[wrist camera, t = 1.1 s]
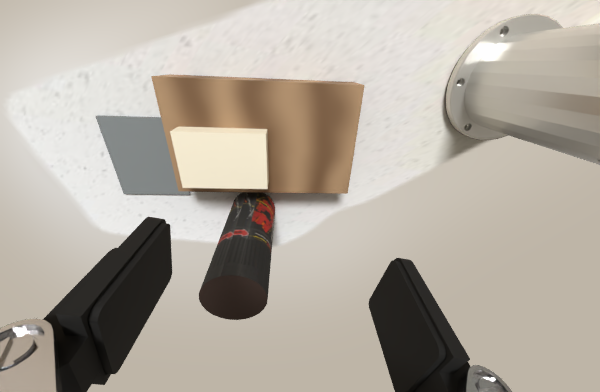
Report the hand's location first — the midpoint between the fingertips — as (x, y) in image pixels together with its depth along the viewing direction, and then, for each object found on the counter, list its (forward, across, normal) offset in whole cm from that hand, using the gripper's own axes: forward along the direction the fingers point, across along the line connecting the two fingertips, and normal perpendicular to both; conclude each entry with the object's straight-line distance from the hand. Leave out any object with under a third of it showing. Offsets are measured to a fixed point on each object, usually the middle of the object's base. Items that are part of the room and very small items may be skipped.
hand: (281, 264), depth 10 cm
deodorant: (+22, +3, +12) cm, 25 cm away
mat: (+21, +17, +7) cm, 28 cm away
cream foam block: (+18, +6, +3) cm, 19 cm away
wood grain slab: (+22, +3, +1) cm, 22 cm away
